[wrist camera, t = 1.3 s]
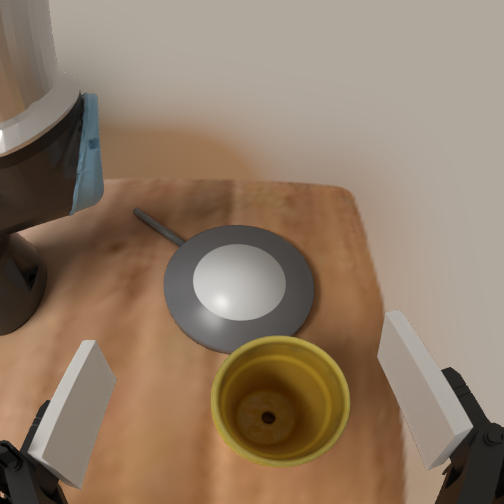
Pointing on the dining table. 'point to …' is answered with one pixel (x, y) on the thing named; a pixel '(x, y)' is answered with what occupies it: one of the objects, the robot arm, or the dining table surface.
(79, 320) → the dining table surface
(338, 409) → the plant pot
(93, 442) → the robot arm
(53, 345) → the dining table surface
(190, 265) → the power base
